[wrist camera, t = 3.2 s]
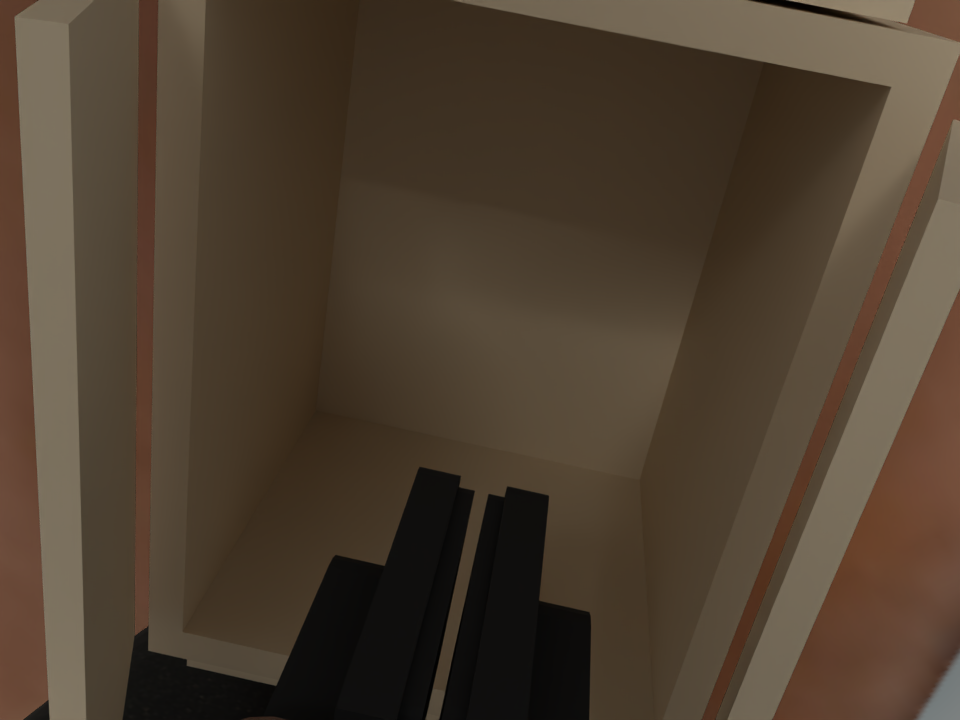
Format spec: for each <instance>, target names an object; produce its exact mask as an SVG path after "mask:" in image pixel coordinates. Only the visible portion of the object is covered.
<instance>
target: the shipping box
mask: <svg viewBox="0 0 960 720" xmlns="http://www.w3.org/2000/svg"><path fill="white" fill-rule="evenodd" d="M914 2H915V0H158V56H157V121H156V185H155V249H154V313H153V378H152V442H151V506H150V570H149V635H148V651H152V652H157V653H161V654H165V655H170V656H174V657H179V658H183V659H187V666H191V667H195V668H200V669H204V670H208V671H213V672H217V673H222V674H226V675H230V676H235V677H239V678H244V679H248V680H253V681H257V682H261V683H266V684H270V685H275V686H276V685H277V683H278V681H279V678H280V676H281V674H282V672H283V669H284V667H285V665H286V662H287V660H288V658H289V655H290V653H291V651H292V649H293V646H294V644H295V642H296V639H297V637H298V635H299V632H300V630H301V628H302V626H303V623H304V621H305V619H306V616H307V614H308V612H309V610H310V607H311V605H312V603H313V600H314V598H315V596H316V593H317V591H318V589H319V587H320V584H321V582H322V580H323V577H324V575H325V573H326V570H327V568H328V566H329V564H330V562H331V560H332V558H333V557H334V556H335V555H339V556H343V557H348V558H352V559H357V560H361V561H366V562H370V563H374V564H379V565H383V566H385V563H386V561H387V558H388V555H389V552H390V549H391V546H392V543H393V540H394V537H395V535H396V532H397V529H398V526H399V523H400V520H401V517H402V514H403V512H404V509H405V506H406V503H407V500H408V497H409V494H410V491H411V489H412V486H413V483H414V480H415V477H416V474H417V471H418V469H419V467H424V468H428V469H433V470H437V471H442V472H446V473H451V474H455V475H460V476H461V480H460V485H459V487H461V488H465V489H470V490H474V491H475V493H474V498H473V503H472V508H471V512H470V517H469V522H468V526H467V531H466V536H465V541H464V545H463V550H462V555H461V560H460V564H459V569H458V574H457V578H456V583H455V588H454V593H453V597H452V602H451V607H450V611H449V616H448V621H447V626H446V630H445V635H444V640H443V645H442V649H441V654H440V658H439V663H438V668H437V672H436V677H435V681H434V685H433V690H432V694H431V699H430V703H429V707H428V712H427V716H426V720H439V718H440V714H441V709H442V704H443V699H444V695H445V690H446V685H447V680H448V676H449V671H450V666H451V662H452V657H453V652H454V648H455V643H456V639H457V634H458V630H459V625H460V621H461V616H462V612H463V607H464V602H465V598H466V593H467V589H468V584H469V580H470V575H471V571H472V566H473V562H474V557H475V552H476V548H477V543H478V539H479V534H480V530H481V525H482V521H483V516H484V511H485V507H486V502H487V498H488V494H492V495H497V496H501V497H505V493H506V489H507V486H509V487H514V488H518V489H523V490H527V491H532V492H536V493H541V494H545V495H549V505H548V515H547V526H546V536H545V546H544V556H543V566H542V576H541V586H540V596H539V601H543V602H547V603H552V604H556V605H561V606H565V607H570V608H574V609H578V610H583V611H587V612H590V615H591V661H590V711H589V720H702V717H703V714H704V712H705V709H706V707H707V704H708V702H709V699H710V696H711V694H712V691H713V689H714V686H715V683H716V681H717V678H718V676H719V673H720V671H721V668H722V665H723V663H724V660H725V658H726V655H727V653H728V650H729V647H730V645H731V642H732V640H733V637H734V634H735V632H736V629H737V627H738V624H739V622H740V619H741V616H742V614H743V611H744V609H745V606H746V603H747V601H748V598H749V596H750V593H751V591H752V588H753V585H754V583H755V580H756V578H757V575H758V573H759V570H760V567H761V565H762V562H763V560H764V557H765V554H766V552H767V549H768V547H769V544H770V542H771V539H772V536H773V534H774V531H775V529H776V526H777V524H778V521H779V518H780V516H781V513H782V511H783V508H784V505H785V503H786V500H787V498H788V495H789V493H790V490H791V487H792V485H793V482H794V480H795V477H796V474H797V472H798V469H799V467H800V464H801V462H802V459H803V456H804V454H805V451H806V449H807V446H808V444H809V441H810V438H811V436H812V433H813V431H814V428H815V425H816V423H817V420H818V418H819V415H820V413H821V410H822V407H823V405H824V402H825V400H826V397H827V395H828V392H829V389H830V387H831V384H832V382H833V379H834V376H835V374H836V371H837V369H838V366H839V364H840V361H841V358H842V356H843V353H844V351H845V348H846V345H847V343H848V340H849V338H850V335H851V333H852V330H853V327H854V325H855V322H856V320H857V317H858V315H859V312H860V309H861V307H862V304H863V302H864V299H865V296H866V294H867V291H868V289H869V286H870V284H871V281H872V278H873V276H874V273H875V271H876V268H877V265H878V263H879V260H880V258H881V255H882V253H883V250H884V247H885V245H886V242H887V240H888V237H889V235H890V232H891V229H892V227H893V224H894V222H895V219H896V216H897V214H898V211H899V209H900V206H901V204H902V201H903V198H904V196H905V193H906V191H907V188H908V186H909V183H910V180H911V178H912V175H913V173H914V170H915V167H916V165H917V162H918V160H919V157H920V155H921V152H922V149H923V147H924V144H925V142H926V139H927V136H928V134H929V131H930V129H931V126H932V124H933V121H934V118H935V116H936V113H937V111H938V108H939V106H940V103H941V100H942V98H943V95H944V93H945V90H946V87H947V85H948V82H949V80H950V77H951V75H952V72H953V69H954V67H955V64H956V62H957V59H958V57H959V54H960V42H957V41H954V40H951V39H948V38H945V37H941V36H938V35H935V34H932V33H929V32H926V31H923V30H919V29H916V28H913V27H910V26H907V25H904V24H900V23H897V22H894V21H898V22H903V23H907V22H908V19H909V16H910V13H911V11H912V8H913V5H914ZM891 20H892V21H891Z"/></svg>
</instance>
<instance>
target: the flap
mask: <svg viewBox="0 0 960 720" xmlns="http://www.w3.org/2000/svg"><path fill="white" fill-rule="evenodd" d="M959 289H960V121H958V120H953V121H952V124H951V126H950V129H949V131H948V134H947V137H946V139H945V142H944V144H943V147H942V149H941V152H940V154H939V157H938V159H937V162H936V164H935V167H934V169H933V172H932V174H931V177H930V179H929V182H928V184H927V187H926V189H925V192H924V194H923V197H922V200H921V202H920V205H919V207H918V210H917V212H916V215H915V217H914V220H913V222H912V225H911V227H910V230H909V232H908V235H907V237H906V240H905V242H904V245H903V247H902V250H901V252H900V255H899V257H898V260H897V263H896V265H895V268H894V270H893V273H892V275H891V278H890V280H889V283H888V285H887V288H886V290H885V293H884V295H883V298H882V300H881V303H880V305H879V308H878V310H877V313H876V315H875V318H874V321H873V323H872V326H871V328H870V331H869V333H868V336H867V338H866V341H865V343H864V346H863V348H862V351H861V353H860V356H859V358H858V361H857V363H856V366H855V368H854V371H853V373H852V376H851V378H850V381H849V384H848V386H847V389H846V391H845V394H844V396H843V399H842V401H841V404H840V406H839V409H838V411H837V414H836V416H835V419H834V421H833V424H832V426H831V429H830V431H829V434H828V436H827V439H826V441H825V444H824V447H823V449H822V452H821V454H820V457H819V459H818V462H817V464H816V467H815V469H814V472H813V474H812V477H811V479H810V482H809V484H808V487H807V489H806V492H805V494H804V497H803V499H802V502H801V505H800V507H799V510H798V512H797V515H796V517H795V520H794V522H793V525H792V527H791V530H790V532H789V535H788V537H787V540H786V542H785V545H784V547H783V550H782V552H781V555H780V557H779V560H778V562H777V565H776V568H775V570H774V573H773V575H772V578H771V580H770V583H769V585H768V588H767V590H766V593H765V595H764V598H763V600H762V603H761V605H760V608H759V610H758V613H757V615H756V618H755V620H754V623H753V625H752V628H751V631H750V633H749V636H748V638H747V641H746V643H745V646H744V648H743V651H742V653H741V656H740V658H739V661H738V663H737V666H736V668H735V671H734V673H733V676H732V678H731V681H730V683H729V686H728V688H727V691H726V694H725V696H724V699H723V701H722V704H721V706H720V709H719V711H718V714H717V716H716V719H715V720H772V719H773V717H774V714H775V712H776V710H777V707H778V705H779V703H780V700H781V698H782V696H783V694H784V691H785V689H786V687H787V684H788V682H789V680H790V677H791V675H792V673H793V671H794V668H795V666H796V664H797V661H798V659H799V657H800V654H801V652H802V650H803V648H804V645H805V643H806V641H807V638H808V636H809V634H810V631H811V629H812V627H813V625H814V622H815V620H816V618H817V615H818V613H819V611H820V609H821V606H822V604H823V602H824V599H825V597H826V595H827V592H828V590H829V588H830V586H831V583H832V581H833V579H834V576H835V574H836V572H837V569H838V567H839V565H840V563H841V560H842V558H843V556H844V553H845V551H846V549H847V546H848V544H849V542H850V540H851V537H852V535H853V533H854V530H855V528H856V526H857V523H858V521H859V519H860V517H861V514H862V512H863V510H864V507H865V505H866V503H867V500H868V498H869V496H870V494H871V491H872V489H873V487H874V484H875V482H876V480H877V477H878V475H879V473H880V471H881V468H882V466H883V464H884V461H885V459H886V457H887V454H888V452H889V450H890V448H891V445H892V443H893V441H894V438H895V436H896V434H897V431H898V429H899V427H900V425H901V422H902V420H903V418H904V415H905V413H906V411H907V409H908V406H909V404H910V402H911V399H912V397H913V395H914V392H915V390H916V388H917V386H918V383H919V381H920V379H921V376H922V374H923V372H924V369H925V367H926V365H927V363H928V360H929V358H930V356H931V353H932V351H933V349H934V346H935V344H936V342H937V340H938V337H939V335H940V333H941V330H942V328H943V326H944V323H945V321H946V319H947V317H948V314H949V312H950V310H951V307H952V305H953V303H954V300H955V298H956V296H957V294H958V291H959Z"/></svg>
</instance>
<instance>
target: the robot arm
mask: <svg viewBox="0 0 960 720" xmlns="http://www.w3.org/2000/svg"><path fill="white" fill-rule="evenodd" d="M460 480H461V476H460V475H455V474H451V473H446V472H442V471H437V470H433V469H428V468H424V467H419V469H418V471H417V474H416V477H415V480H414V483H413V486H412V489H411V491H410V494H409V497H408V500H407V503H406V506H405V509H404V512H403V514H402V517H401V520H400V523H399V526H398V529H397V532H396V535H395V537H394V540H393V543H392V546H391V549H390V552H389V555H388V558H387V561H386V563H385V566H383V565H379V564H374V563H370V562H366V561H361V560H357V559H352V558H348V557H343V556H339V555H335V556H334V557H333V558H332V560H331V562H330V564H329V566H328V568H327V570H326V573H325V575H324V577H323V580H322V582H321V584H320V587H319V589H318V591H317V593H316V596H315V598H314V600H313V603H312V605H311V607H310V610H309V612H308V614H307V616H306V619H305V621H304V623H303V626H302V628H301V630H300V632H299V635H298V637H297V639H296V642H295V644H294V646H293V649H292V651H291V653H290V655H289V658H288V660H287V662H286V665H285V667H284V669H283V672H282V674H281V676H280V678H279V681H278V683H277V685H276V688H275V690H274V692H273V694H272V697H271V699H270V701H269V704H268V706H267V708H266V711H265V713H264V715H263V717H248V718H245V719H241V720H426V716H427V712H428V707H429V703H430V699H431V694H432V690H433V685H434V681H435V677H436V672H437V668H438V663H439V658H440V654H441V649H442V645H443V640H444V635H445V630H446V626H447V621H448V616H449V611H450V607H451V602H452V597H453V593H454V588H455V583H456V578H457V574H458V569H459V564H460V560H461V555H462V550H463V545H464V541H465V536H466V531H467V526H468V522H469V517H470V512H471V508H472V503H473V498H474V493H475V491H474V490H470V489H465V488H461V487H459V485H460ZM548 505H549V495H545V494H541V493H536V492H532V491H527V490H523V489H518V488H514V487H509V486H507V489H506V493H505V497H501V496H497V495H492V494H488V498H487V502H486V507H485V511H484V516H483V521H482V525H481V530H480V534H479V539H478V543H477V548H476V552H475V557H474V562H473V566H472V571H471V575H470V580H469V584H468V589H467V593H466V598H465V602H464V607H463V612H462V616H461V621H460V625H459V630H458V634H457V639H456V643H455V648H454V652H453V657H452V662H451V666H450V671H449V676H448V680H447V685H446V690H445V695H444V699H443V704H442V709H441V714H440V718H439V720H589V711H590V661H591V615H590V612H587V611H583V610H578V609H574V608H570V607H565V606H561V605H556V604H552V603H547V602H543V601H539V596H540V586H541V576H542V566H543V556H544V546H545V536H546V526H547V515H548Z"/></svg>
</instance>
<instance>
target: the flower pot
mask: <svg viewBox="0 0 960 720" xmlns="http://www.w3.org/2000/svg"><path fill="white" fill-rule="evenodd" d="M148 635H149V626H148V627H147V628H145V629H144V630H142V631H141V632H140V633H138V634H137V635H135V636H134V642H133V649H132V656H131V663H130V670H129V677H128V684H127V691H126V698H125V705H124V712H123V719H122V720H241V719H245V718H248V717H263V715H264V713H265V711H266V708H267V706H268V704H269V701H270V699H271V697H272V694H273V692H274V690H275V688H276V686H275V685H270V684H266V683H261V682H257V681H253V680H248V679H244V678H239V677H235V676H230V675H226V674H222V673H217V672H213V671H208V670H204V669H200V668H195V667H191V666H187V659H183V658H179V657H174V656H170V655H165V654H161V653H157V652H152V651H148ZM24 720H50V716H49V700H48V701H47V702H45V703H44V704H43V705H41V706H40V707H39V708H38V709H36V710H35V711H34V712H32V713H31V714H30V715H29V716H27V717H26V718H25V719H24Z"/></svg>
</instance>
